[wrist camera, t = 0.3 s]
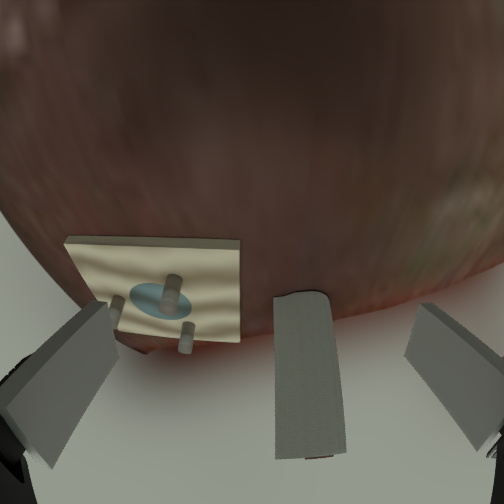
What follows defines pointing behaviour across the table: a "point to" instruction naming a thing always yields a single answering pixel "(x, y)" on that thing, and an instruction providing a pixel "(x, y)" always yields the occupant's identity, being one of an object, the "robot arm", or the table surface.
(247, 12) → the table surface
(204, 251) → the plate
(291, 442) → the paper towel roll
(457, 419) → the robot arm
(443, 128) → the table surface
